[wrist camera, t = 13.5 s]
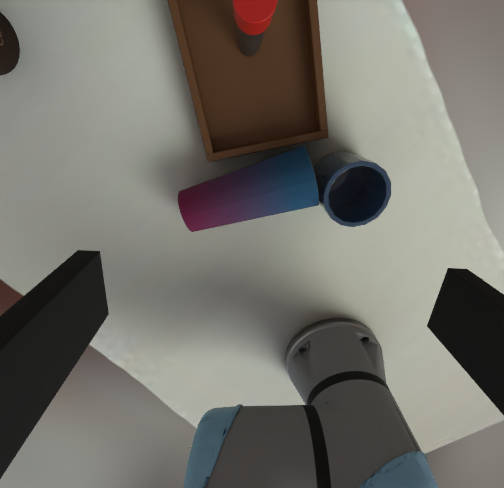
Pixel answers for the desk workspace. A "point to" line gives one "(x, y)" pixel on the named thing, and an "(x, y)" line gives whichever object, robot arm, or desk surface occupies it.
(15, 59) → the coffee mug
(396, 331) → the desk surface
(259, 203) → the cup
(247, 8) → the marker
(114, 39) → the desk surface
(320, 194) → the pen cup
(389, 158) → the desk surface
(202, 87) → the pen tray
